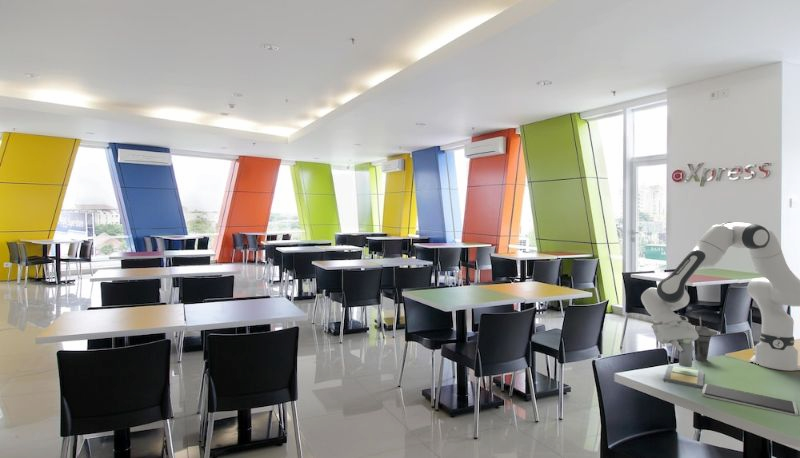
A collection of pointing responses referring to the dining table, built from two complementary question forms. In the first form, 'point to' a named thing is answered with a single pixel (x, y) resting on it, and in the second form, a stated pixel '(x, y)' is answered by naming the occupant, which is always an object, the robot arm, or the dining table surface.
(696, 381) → the colour board
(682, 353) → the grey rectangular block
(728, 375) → the dining table surface
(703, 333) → the beverage cup
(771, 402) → the grey tray
